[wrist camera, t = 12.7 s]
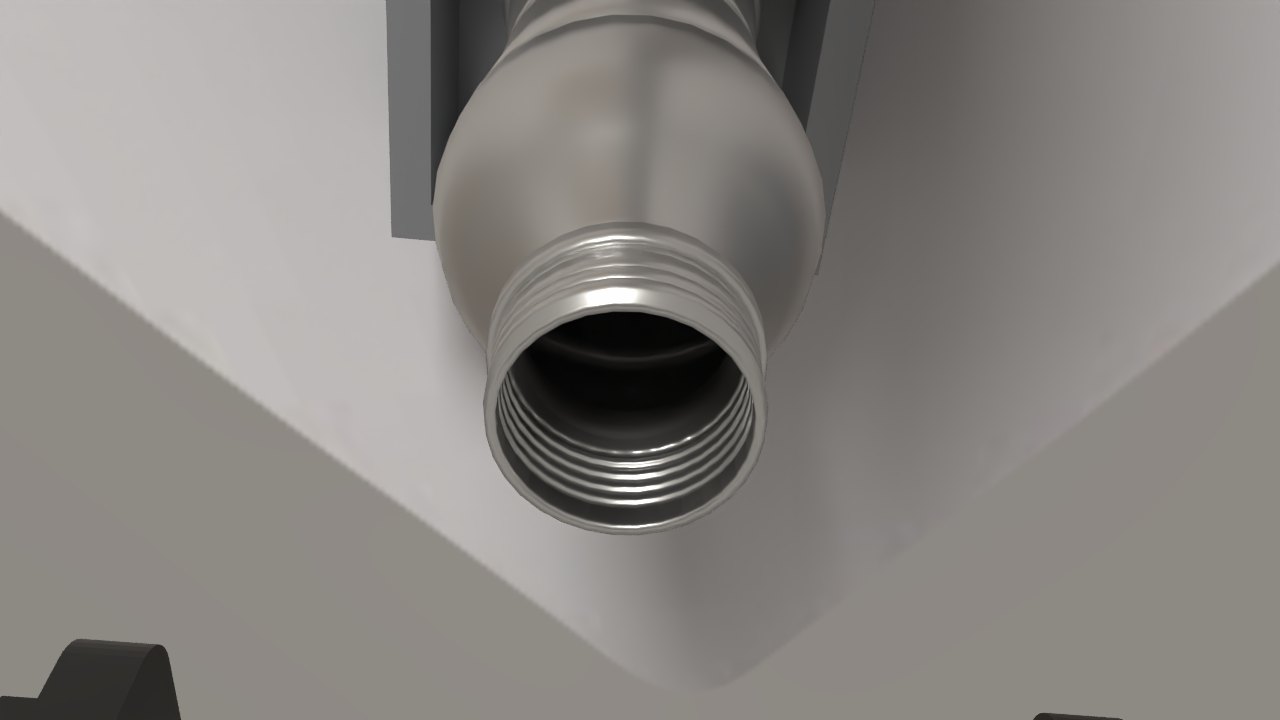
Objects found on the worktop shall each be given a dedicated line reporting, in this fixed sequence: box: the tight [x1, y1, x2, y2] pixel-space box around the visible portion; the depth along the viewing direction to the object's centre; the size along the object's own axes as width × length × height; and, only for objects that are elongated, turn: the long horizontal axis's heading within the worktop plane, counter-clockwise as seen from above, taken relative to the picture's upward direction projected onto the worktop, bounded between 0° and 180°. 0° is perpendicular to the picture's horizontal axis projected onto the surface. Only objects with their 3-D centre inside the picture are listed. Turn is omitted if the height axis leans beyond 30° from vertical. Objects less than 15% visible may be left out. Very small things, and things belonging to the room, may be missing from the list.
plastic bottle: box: [433, 0, 826, 535], centre depth 23 cm, size 6×7×20 cm
